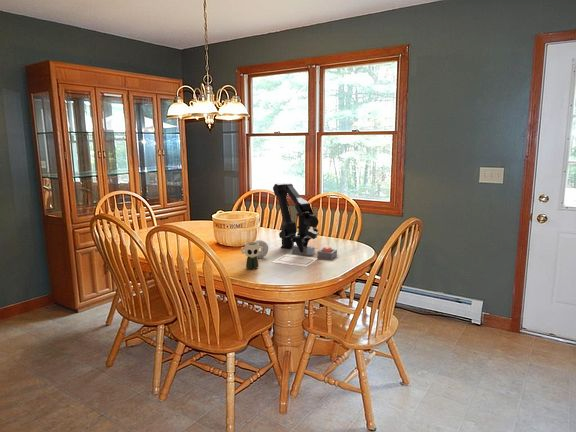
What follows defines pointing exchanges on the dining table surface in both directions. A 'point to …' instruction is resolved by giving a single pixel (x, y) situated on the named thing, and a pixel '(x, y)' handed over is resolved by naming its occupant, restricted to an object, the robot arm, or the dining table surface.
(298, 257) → the paper sheet
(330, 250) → the button
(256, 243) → the big-eyed character figurine
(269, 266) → the dining table surface
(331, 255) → the button housing
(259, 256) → the donut
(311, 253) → the gray rectangular block
